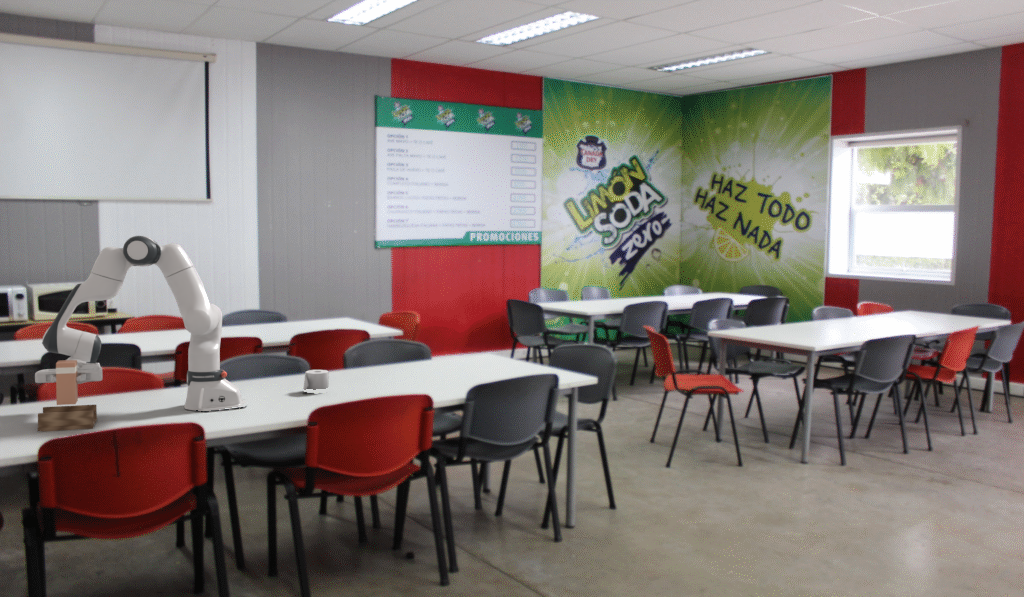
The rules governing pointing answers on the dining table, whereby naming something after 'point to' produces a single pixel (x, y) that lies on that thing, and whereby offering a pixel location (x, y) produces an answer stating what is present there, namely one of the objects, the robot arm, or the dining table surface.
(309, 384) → the toilet tissue
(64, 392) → the carton
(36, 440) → the dining table surface
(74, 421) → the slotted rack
